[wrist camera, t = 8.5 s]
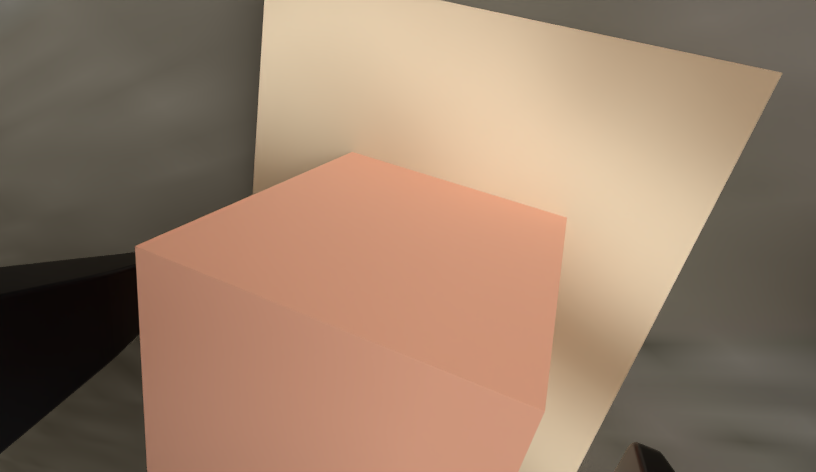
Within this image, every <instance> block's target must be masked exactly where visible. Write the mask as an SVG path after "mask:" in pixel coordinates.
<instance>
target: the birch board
mask: <svg viewBox="0 0 816 472" xmlns="http://www.w3.org/2000/svg"><path fill="white" fill-rule="evenodd" d="M781 75H782V73H780V72H775V71H771V70H766V69H761V68H757V67H752V66H747V65H742V64H738V63H733V62H728V61H724V60H719V59H714V58H709V57H705V56H700V55H695V54H691V53H686V52H681V51H676V50H672V49H667V48H662V47H658V46H653V45H648V44H643V43H639V42H634V41H629V40H625V39H620V38H615V37H610V36H606V35H601V34H596V33H592V32H587V31H582V30H577V29H573V28H568V27H563V26H558V25H554V24H549V23H544V22H540V21H535V20H530V19H525V18H521V17H516V16H511V15H507V14H502V13H497V12H492V11H488V10H483V9H478V8H474V7H469V6H464V5H459V4H455V3H450V2H445V1H441V0H264V16H263V33H262V49H261V66H260V82H259V99H258V115H257V131H256V148H255V164H254V181H253V195H254V194H256V193H258V192H261V191H263V190H265V189H268V188H270V187H272V186H275V185H277V184H279V183H282V182H284V181H286V180H288V179H291V178H293V177H295V176H298V175H300V174H302V173H305V172H307V171H309V170H311V169H314V168H316V167H318V166H321V165H323V164H325V163H328V162H330V161H332V160H335V159H337V158H339V157H341V156H344V155H346V154H348V153H351V152H354V153H358V154H361V155H364V156H367V157H371V158H374V159H377V160H380V161H384V162H387V163H390V164H393V165H397V166H400V167H403V168H407V169H410V170H413V171H416V172H420V173H423V174H426V175H429V176H433V177H436V178H439V179H442V180H446V181H449V182H452V183H456V184H459V185H462V186H465V187H469V188H472V189H475V190H478V191H482V192H485V193H488V194H491V195H495V196H498V197H501V198H505V199H508V200H511V201H514V202H518V203H521V204H524V205H527V206H531V207H534V208H537V209H540V210H544V211H547V212H550V213H554V214H557V215H560V216H563V217H567V222H566V231H565V239H564V248H563V257H562V266H561V275H560V283H559V292H558V301H557V310H556V319H555V327H554V336H553V345H552V354H551V363H550V371H549V380H548V389H547V398H546V407H545V412H544V415H543V417H542V419H541V421H540V424H539V426H538V428H537V430H536V433H535V435H534V437H533V439H532V442H531V444H530V446H529V449H528V451H527V453H526V455H525V458H524V460H523V462H522V464H521V467H520V469H519V471H518V472H577V470H578V468H579V466H580V464H581V462H582V461H583V459H584V457H585V455H586V453H587V451H588V449H589V447H590V445H591V443H592V441H593V439H594V437H595V435H596V433H597V431H598V430H599V428H600V426H601V424H602V422H603V420H604V418H605V416H606V414H607V412H608V410H609V408H610V406H611V404H612V402H613V400H614V399H615V397H616V395H617V393H618V391H619V389H620V387H621V385H622V383H623V381H624V379H625V377H626V375H627V373H628V371H629V369H630V368H631V366H632V364H633V362H634V360H635V358H636V356H637V354H638V352H639V350H640V348H641V346H642V344H643V342H644V340H645V338H646V336H647V335H648V333H649V331H650V329H651V327H652V325H653V323H654V321H655V319H656V317H657V315H658V313H659V311H660V309H661V307H662V305H663V304H664V302H665V300H666V298H667V296H668V294H669V292H670V290H671V288H672V286H673V284H674V282H675V280H676V278H677V276H678V274H679V273H680V271H681V269H682V267H683V265H684V263H685V261H686V259H687V257H688V255H689V253H690V251H691V249H692V247H693V245H694V243H695V242H696V240H697V238H698V236H699V234H700V232H701V230H702V228H703V226H704V224H705V222H706V220H707V218H708V216H709V214H710V212H711V211H712V209H713V207H714V205H715V203H716V201H717V199H718V197H719V195H720V193H721V191H722V189H723V187H724V185H725V183H726V181H727V179H728V178H729V176H730V174H731V172H732V170H733V168H734V166H735V164H736V162H737V160H738V158H739V156H740V154H741V152H742V150H743V148H744V147H745V145H746V143H747V141H748V139H749V137H750V135H751V133H752V131H753V129H754V127H755V125H756V123H757V121H758V119H759V117H760V116H761V114H762V112H763V110H764V108H765V106H766V104H767V102H768V100H769V98H770V96H771V94H772V92H773V90H774V88H775V86H776V85H777V83H778V81H779V79H780V77H781Z"/></svg>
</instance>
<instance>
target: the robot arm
mask: <svg viewBox="0 0 816 472" xmlns="http://www.w3.org/2000/svg"><path fill="white" fill-rule="evenodd" d="M139 333H140V328H139V310H138V292H137V273H136V255H135V252H134V253H125V254H116V255H106V256H97V257H88V258H79V259H70V260H61V261H52V262H43V263H34V264H25V265H16V266H7V267H0V454H1V453H2V452H3V451H4V450H5V449H6V448H8V447H9V446H10V445H11V444H12V443H14V442H15V441H16V440H17V439H18V438H20V437H21V436H22V435H23V434H24V433H26V432H27V431H28V430H29V429H30V428H32V427H33V426H34V425H35V424H36V423H38V422H39V421H40V420H41V419H42V418H44V417H45V416H46V415H47V414H48V413H50V412H51V411H52V410H53V409H54V408H56V407H57V406H58V405H59V404H60V403H62V402H63V401H64V400H65V399H66V398H68V397H69V396H70V395H71V394H72V393H74V392H75V391H76V390H77V389H78V388H80V387H81V386H82V385H83V384H84V383H86V382H87V381H88V380H89V379H90V378H92V377H93V376H94V375H95V374H96V373H98V372H99V371H100V370H101V369H102V368H103V367H105V366H106V365H107V364H108V363H109V362H110V361H112V360H113V359H114V358H115V357H116V356H117V355H118V354H119V353H120V352H121V351H122V350H123V349H124V348H125V347H126V346H127V345H128V344H129V343H130V342H131V341H132V340H133V339H134V338H135V337H136V336H137V335H138V334H139ZM614 472H675V471H674V470H673V468H672V467H671V465H670V464H669V463H668V461H667V460H666V458H665V457H664V456H663V455H662V453H661V452H659V451H657V450H655V449H653V448H650V447H648V446H645V445H643V444H640V443H637V442H635V443H632V444H631V445H630V446H629V447H628V448H627V450H626V452H625V453H624V455H623V457H622V459H621V461H620V462H619V464H618V466H617V468H616V469H615V471H614Z"/></svg>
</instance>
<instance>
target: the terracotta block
mask: <svg viewBox="0 0 816 472" xmlns="http://www.w3.org/2000/svg"><path fill="white" fill-rule="evenodd" d="M566 222H567V217H563V216H560V215H557V214H554V213H550V212H547V211H544V210H540V209H537V208H534V207H531V206H527V205H524V204H521V203H518V202H514V201H511V200H508V199H505V198H501V197H498V196H495V195H491V194H488V193H485V192H482V191H478V190H475V189H472V188H469V187H465V186H462V185H459V184H456V183H452V182H449V181H446V180H442V179H439V178H436V177H433V176H429V175H426V174H423V173H420V172H416V171H413V170H410V169H407V168H403V167H400V166H397V165H393V164H390V163H387V162H384V161H380V160H377V159H374V158H371V157H367V156H364V155H361V154H358V153H354V152H351V153H348V154H346V155H344V156H341V157H339V158H337V159H335V160H332V161H330V162H328V163H325V164H323V165H321V166H318V167H316V168H314V169H311V170H309V171H307V172H305V173H302V174H300V175H298V176H295V177H293V178H291V179H288V180H286V181H284V182H282V183H279V184H277V185H275V186H272V187H270V188H268V189H265V190H263V191H261V192H258V193H256V194H254V195H252V196H249V197H247V198H245V199H242V200H240V201H238V202H235V203H233V204H231V205H229V206H226V207H224V208H222V209H219V210H217V211H215V212H212V213H210V214H208V215H205V216H203V217H201V218H199V219H196V220H194V221H192V222H189V223H187V224H185V225H182V226H180V227H178V228H176V229H173V230H171V231H169V232H166V233H164V234H162V235H159V236H157V237H155V238H152V239H150V240H148V241H146V242H143V243H141V244H139V245H136V246H135V255H136V273H137V292H138V310H139V328H140V347H141V365H142V384H143V402H144V421H145V439H146V457H147V472H518V471H519V469H520V467H521V464H522V462H523V460H524V458H525V455H526V453H527V451H528V449H529V446H530V444H531V442H532V439H533V437H534V435H535V433H536V430H537V428H538V426H539V424H540V421H541V419H542V417H543V415H544V412H545V407H546V398H547V389H548V380H549V371H550V363H551V354H552V345H553V336H554V327H555V319H556V310H557V301H558V292H559V283H560V275H561V266H562V257H563V248H564V239H565V231H566Z"/></svg>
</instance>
